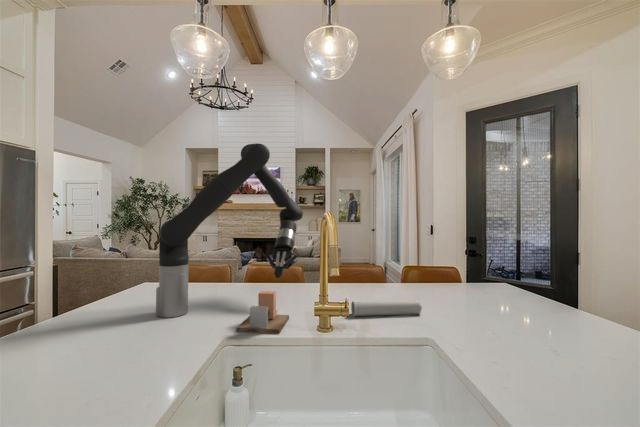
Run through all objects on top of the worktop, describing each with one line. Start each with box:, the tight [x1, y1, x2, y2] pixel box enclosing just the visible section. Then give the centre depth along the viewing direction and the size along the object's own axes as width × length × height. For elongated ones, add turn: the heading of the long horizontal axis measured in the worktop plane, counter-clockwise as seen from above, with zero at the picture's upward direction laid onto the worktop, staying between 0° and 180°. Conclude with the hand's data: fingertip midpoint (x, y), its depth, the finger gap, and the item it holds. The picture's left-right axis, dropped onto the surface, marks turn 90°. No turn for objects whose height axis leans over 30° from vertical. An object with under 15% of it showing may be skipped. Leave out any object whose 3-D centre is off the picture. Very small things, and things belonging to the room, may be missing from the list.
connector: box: [249, 305, 268, 329], centre depth 88 cm, size 5×3×6 cm, turn 84°
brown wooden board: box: [236, 314, 290, 334], centre depth 93 cm, size 13×13×1 cm
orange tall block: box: [257, 290, 277, 319], centre depth 96 cm, size 5×3×8 cm, turn 84°
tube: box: [350, 300, 423, 318], centre depth 104 cm, size 5×5×25 cm
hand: (277, 276), depth 110 cm, fingers closed
